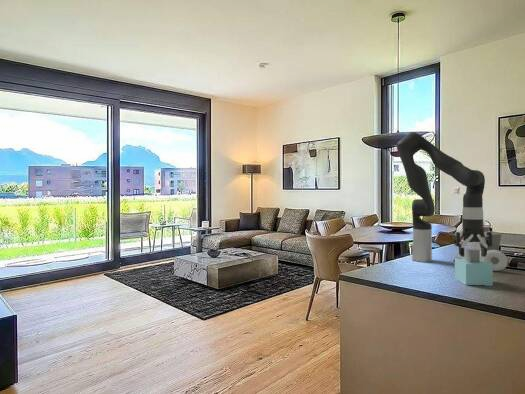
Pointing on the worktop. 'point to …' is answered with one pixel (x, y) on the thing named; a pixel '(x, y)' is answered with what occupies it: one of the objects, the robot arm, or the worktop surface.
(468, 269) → the mint green box
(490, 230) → the coffeepot
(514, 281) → the worktop surface
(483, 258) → the donut
